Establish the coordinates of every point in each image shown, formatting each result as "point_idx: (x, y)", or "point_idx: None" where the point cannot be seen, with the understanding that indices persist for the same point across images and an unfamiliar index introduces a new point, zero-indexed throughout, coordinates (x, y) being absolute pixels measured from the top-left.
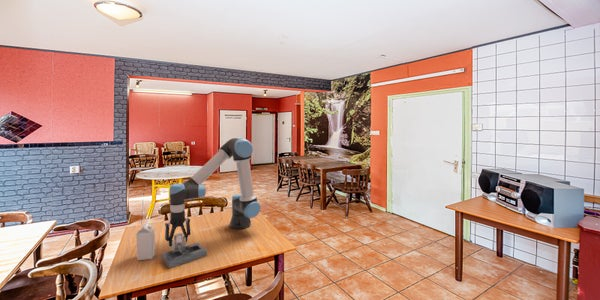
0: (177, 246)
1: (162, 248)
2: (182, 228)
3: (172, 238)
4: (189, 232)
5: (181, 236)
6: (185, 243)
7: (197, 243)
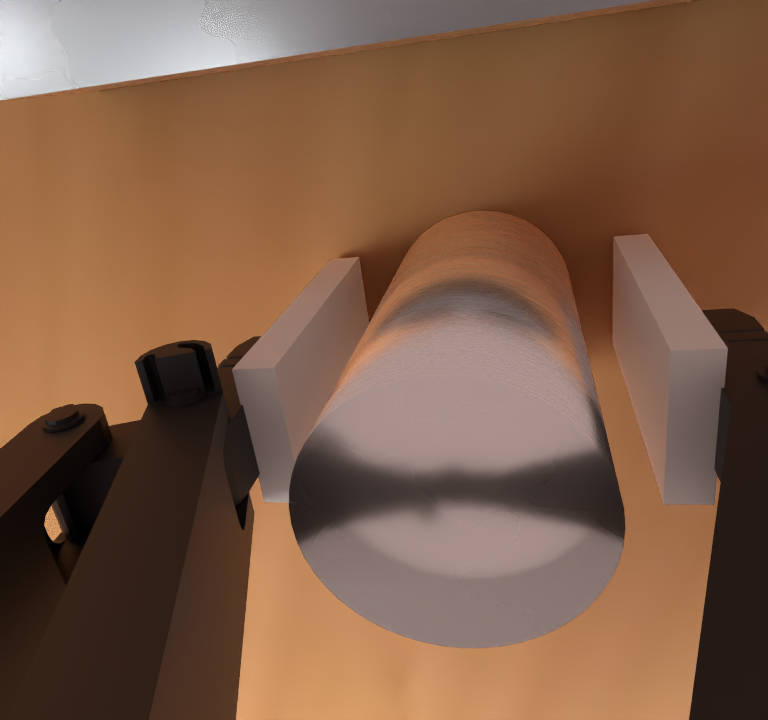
0: (528, 257)
1: None
2: (144, 686)
3: (736, 410)
4: (19, 457)
5: (355, 376)
6: (304, 298)
7: (6, 44)
